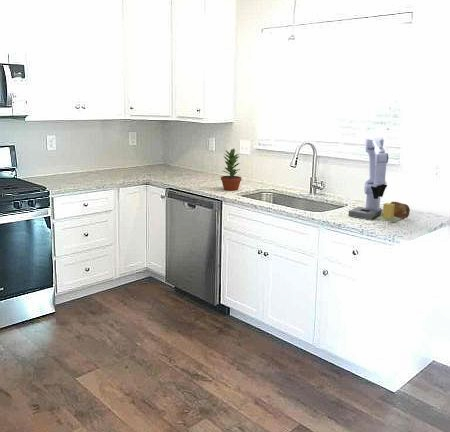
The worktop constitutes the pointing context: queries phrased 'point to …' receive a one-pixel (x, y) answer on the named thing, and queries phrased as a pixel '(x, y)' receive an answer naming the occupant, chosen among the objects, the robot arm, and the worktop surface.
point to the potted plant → (231, 173)
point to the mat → (388, 219)
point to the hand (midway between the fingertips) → (378, 197)
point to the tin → (401, 210)
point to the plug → (388, 211)
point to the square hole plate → (365, 213)
